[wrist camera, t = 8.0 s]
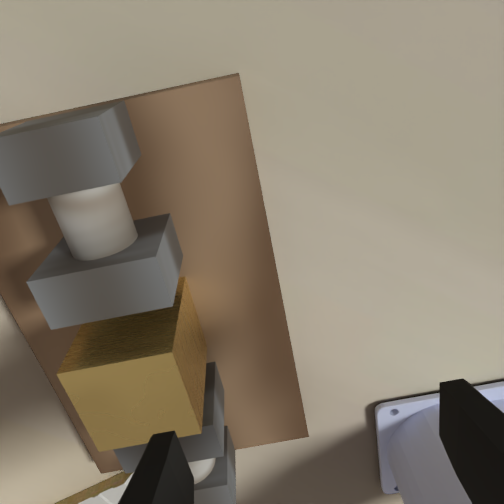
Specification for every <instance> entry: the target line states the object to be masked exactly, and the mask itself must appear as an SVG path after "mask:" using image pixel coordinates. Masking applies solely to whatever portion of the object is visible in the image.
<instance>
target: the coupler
mask: <svg viewBox="0 0 504 504" xmlns="http://www.w3.org/2000/svg"><path fill="white" fill-rule="evenodd" d="M206 360H207V344H206V340H205V337H204V334H203V331H202V328H201V324H200V321H199V318H198V315H197V312H196V309H195V305H194V302H193V299H192V296H191V293H190V289H189V286H188V283H187V280H186V277H179V279H178V284H177V289H176V294H175V299H174V303H173V306H172V307H167V308H162V309H157V310H152V311H146V312H141V313H136V314H131V315H126V316H120V317H115V318H110V319H105V320H100V321H94V322H89V323H84V324H82V325H81V327H80V329H79V331H78V333H77V335H76V337H75V339H74V341H73V343H72V344H71V346H70V348H69V350H68V352H67V354H66V356H65V358H64V360H63V362H62V364H61V366H60V368H59V370H58V372H57V376H58V378H59V380H60V382H61V384H62V385H63V387H64V389H65V391H66V393H67V395H68V396H69V398H70V400H71V402H72V404H73V406H74V407H75V409H76V411H77V413H78V415H79V416H80V418H81V420H82V422H83V424H84V426H85V427H86V429H87V431H88V433H89V435H90V437H91V438H92V440H93V442H94V444H95V446H96V448H97V449H98V451H99V452H102V451H107V450H113V449H118V448H124V447H129V446H135V445H140V444H146V443H148V442H149V440H150V438H151V436H152V435H153V434H157V433H163V432H168V431H174V430H175V432H176V435H177V437H178V438H179V437H185V436H190V435H196V434H201V433H202V421H203V405H204V390H205V375H206Z"/></svg>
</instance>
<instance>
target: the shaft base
mask: <svg viewBox="0 0 504 504" xmlns="http://www.w3.org/2000/svg"><path fill="white" fill-rule="evenodd" d="M179 277H186V280H187V283H188V286H189V289H190V293H191V296H192V299H193V302H194V305H195V309H196V312H197V315H198V318H199V321H200V324H201V328H202V331H203V334H204V337H205V340H206V344H207V360H206V375H205V390H204V405H203V421H202V433H201V434H196V435H190V436H185V437H179V438H178V439H179V442H180V444H181V447H182V449H183V452H184V454H185V457H186V459H187V462H188V464H189V467H190V469H191V472H192V474H193V477H194V504H236V472H235V450H236V449H242V448H248V447H253V446H259V445H265V444H270V443H276V442H282V441H287V440H293V439H299V438H304V437H309V435H308V430H307V425H306V420H305V414H304V409H303V404H302V399H301V394H300V388H299V383H298V378H297V373H296V368H295V362H294V357H293V352H292V347H291V342H290V336H289V331H288V326H287V321H286V316H285V310H284V305H283V300H282V295H281V290H280V284H279V279H278V274H277V269H276V264H275V258H274V253H273V248H272V243H271V238H270V232H269V227H268V222H267V217H266V212H265V206H264V201H263V196H262V191H261V186H260V181H259V175H258V170H257V165H256V160H255V155H254V149H253V144H252V139H251V134H250V129H249V123H248V118H247V113H246V108H245V103H244V97H243V92H242V87H241V82H240V77H239V73H236V74H231V75H227V76H222V77H218V78H213V79H208V80H204V81H199V82H194V83H190V84H185V85H180V86H176V87H171V88H166V89H162V90H157V91H152V92H148V93H143V94H138V95H134V96H129V97H124V98H120V99H115V100H110V101H106V102H101V103H97V104H92V105H87V106H83V107H78V108H73V109H69V110H64V111H59V112H55V113H50V114H45V115H41V116H36V117H31V118H27V119H22V120H17V121H13V122H8V123H3V124H0V294H1V295H2V297H3V299H4V301H5V302H6V304H7V306H8V308H9V310H10V311H11V313H12V315H13V317H14V319H15V320H16V322H17V324H18V326H19V327H20V329H21V331H22V333H23V335H24V336H25V338H26V340H27V342H28V344H29V345H30V347H31V349H32V351H33V353H34V354H35V356H36V358H37V360H38V361H39V363H40V365H41V367H42V369H43V370H44V372H45V374H46V376H47V378H48V379H49V381H50V383H51V385H52V387H53V388H54V390H55V392H56V394H57V395H58V397H59V399H60V401H61V403H62V404H63V406H64V408H65V410H66V412H67V413H68V415H69V417H70V419H71V420H72V422H73V424H74V426H75V428H76V429H77V431H78V433H79V435H80V437H81V438H82V440H83V442H84V444H85V446H86V447H87V449H88V451H89V453H90V454H91V456H92V458H93V460H94V462H95V463H96V465H97V467H98V469H99V471H100V472H101V473H106V472H112V471H118V470H124V472H125V474H126V473H132V472H134V471H135V469H136V467H137V465H138V463H139V461H140V459H141V457H142V455H143V452H144V450H145V448H146V446H147V444H148V443H146V444H140V445H135V446H129V447H124V448H118V449H113V450H107V451H102V452H99V451H98V449H97V448H96V446H95V444H94V442H93V440H92V438H91V437H90V435H89V433H88V431H87V429H86V427H85V426H84V424H83V422H82V420H81V418H80V416H79V415H78V413H77V411H76V409H75V407H74V406H73V404H72V402H71V400H70V398H69V396H68V395H67V393H66V391H65V389H64V387H63V385H62V384H61V382H60V380H59V378H58V376H57V372H58V370H59V368H60V366H61V364H62V362H63V360H64V358H65V356H66V354H67V352H68V350H69V348H70V346H71V344H72V343H73V341H74V339H75V337H76V335H77V333H78V331H79V329H80V327H81V325H82V324H84V323H89V322H94V321H100V320H105V319H110V318H115V317H120V316H126V315H131V314H136V313H141V312H146V311H152V310H157V309H162V308H167V307H172V306H173V303H174V299H175V294H176V289H177V284H178V279H179Z"/></svg>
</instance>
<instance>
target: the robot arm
mask: <svg viewBox="0 0 504 504" xmlns="http://www.w3.org/2000/svg"><path fill="white" fill-rule="evenodd" d="M393 409H394V410H393ZM375 420H376V432H377V444H378V456H379V469H380V481H381V488H382V490H383V492H384V493H385V494H394V493H400V495H401V497H402V500H403V503H404V504H504V381H502V382H496V383H491V384H485V385H480V386H474V387H473V386H472V385H471V384H470V383H468V382H467V381H466V380H464V379H458V380H452V381H447V382H441V383H440V393H435V394H429V395H424V396H418V397H413V398H407V399H401V400H396V401H390V402H385V403H381V404H379V405H377V406H376V408H375ZM118 504H194V477H193V474H192V472H191V469H190V467H189V464H188V462H187V459H186V457H185V454H184V452H183V449H182V447H181V444H180V442H179V439H178V437H177V435H176V432H175V430H174V431H168V432H163V433H157V434H153V435H152V436H151V438H150V440H149V442H148V444H147V446H146V448H145V450H144V452H143V455H142V457H141V459H140V461H139V463H138V465H137V467H136V469H135V471H134V473H133V475H132V477H131V479H130V481H129V483H128V485H127V487H126V489H125V491H124V493H123V495H122V497H121V499H120V500H119V502H118Z"/></svg>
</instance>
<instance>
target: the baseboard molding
mask: <svg viewBox="0 0 504 504" xmlns="http://www.w3.org/2000/svg"><path fill="white" fill-rule="evenodd" d="M133 473H134V472H132V473H126V474H125V472H122V473H120V474H118V475H115V476H113V477H111V478H109V479H107V480H105V481H103V482H100V483H98V484H96V485H94V486H92V487H90V488H87V489H85V490H83V491H81V492H79V493H77V494H75V495H72V496H70V497H68V498H66V499H64V500H62V501H60V502H57V503H55V504H118V502H119V500H120V499H121V497H122V495H123V493H124V491H125V489H126V487H127V485H128V483H129V481H130V479H131V477H132V475H133Z"/></svg>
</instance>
